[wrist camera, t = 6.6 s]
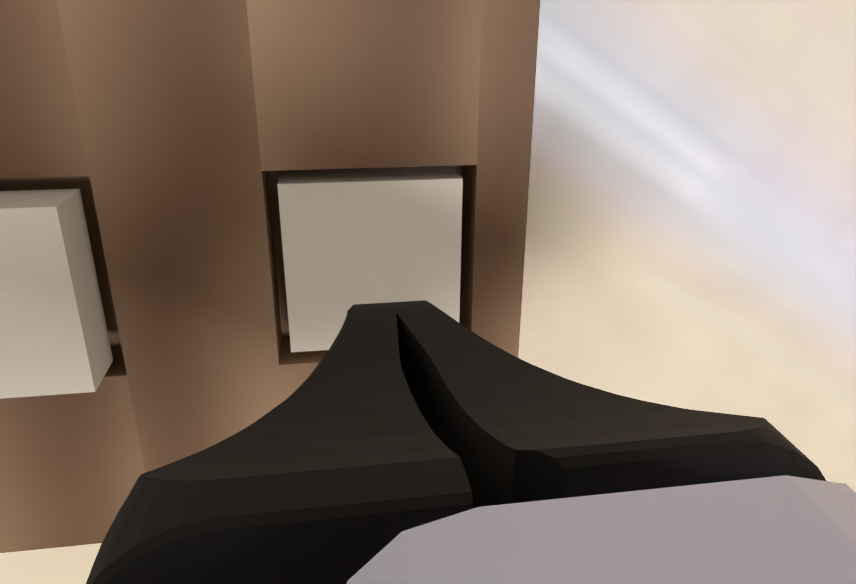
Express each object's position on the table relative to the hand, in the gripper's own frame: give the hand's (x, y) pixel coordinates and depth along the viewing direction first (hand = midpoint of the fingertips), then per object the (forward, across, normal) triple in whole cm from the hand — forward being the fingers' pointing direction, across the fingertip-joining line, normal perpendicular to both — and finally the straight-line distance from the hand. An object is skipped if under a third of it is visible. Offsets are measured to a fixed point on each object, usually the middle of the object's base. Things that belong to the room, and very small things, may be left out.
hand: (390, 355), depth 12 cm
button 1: (+4, +8, 0) cm, 9 cm away
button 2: (+6, 0, 0) cm, 6 cm away
